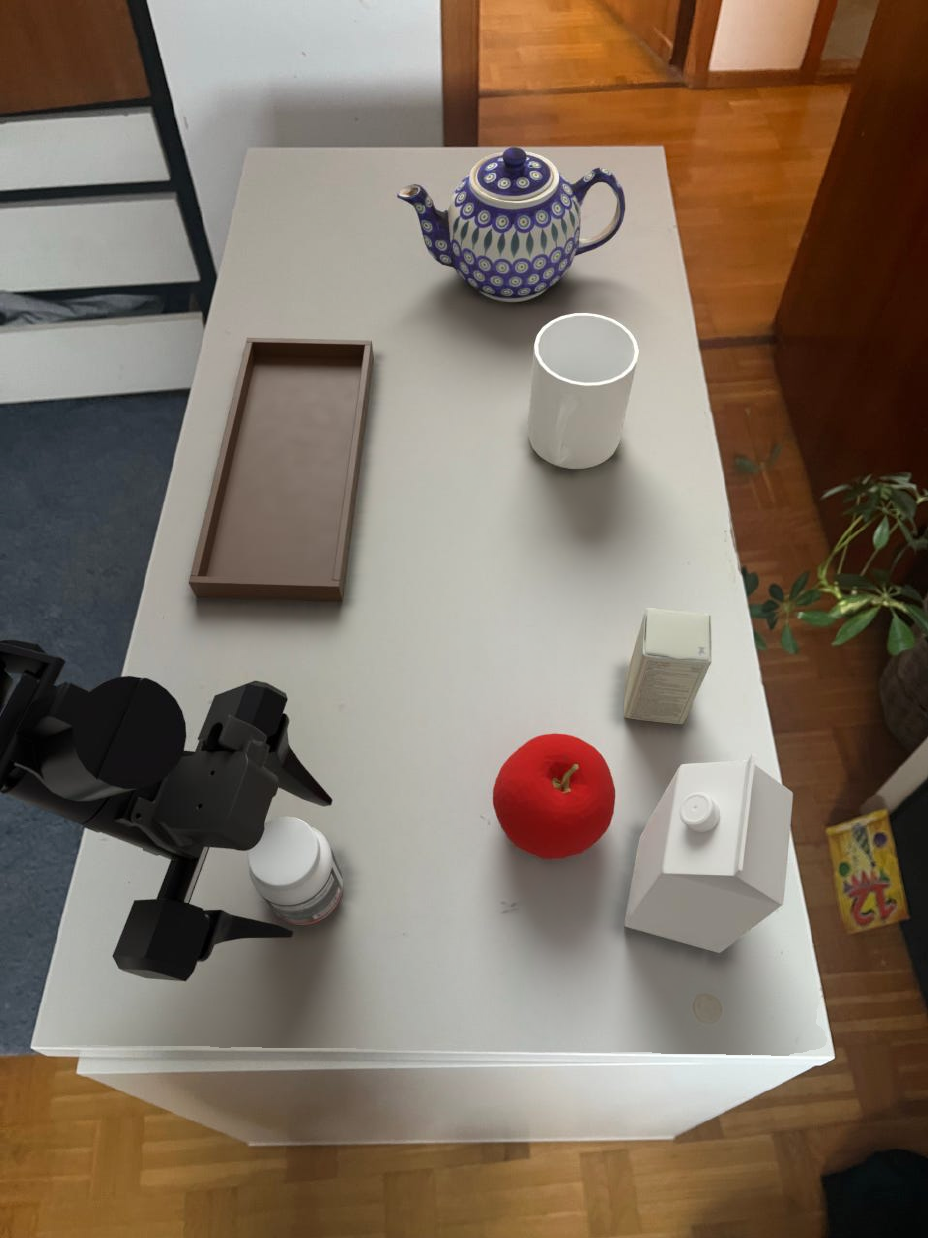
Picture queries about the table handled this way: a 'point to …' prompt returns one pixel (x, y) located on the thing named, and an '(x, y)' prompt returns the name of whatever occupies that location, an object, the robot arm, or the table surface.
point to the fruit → (554, 796)
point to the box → (667, 665)
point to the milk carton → (712, 855)
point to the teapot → (512, 224)
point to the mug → (580, 389)
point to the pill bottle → (295, 871)
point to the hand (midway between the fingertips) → (310, 866)
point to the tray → (287, 473)
